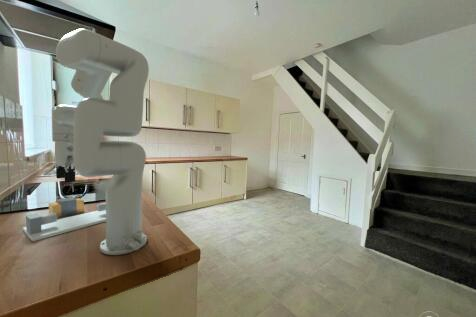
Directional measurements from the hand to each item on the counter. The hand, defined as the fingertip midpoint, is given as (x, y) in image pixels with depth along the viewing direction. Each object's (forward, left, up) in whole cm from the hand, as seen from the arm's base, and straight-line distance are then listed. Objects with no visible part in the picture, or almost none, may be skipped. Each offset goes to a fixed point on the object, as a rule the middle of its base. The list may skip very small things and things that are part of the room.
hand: (65, 179), depth 82 cm
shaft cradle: (-15, 0, -14) cm, 20 cm away
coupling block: (-1, 0, -14) cm, 14 cm away
